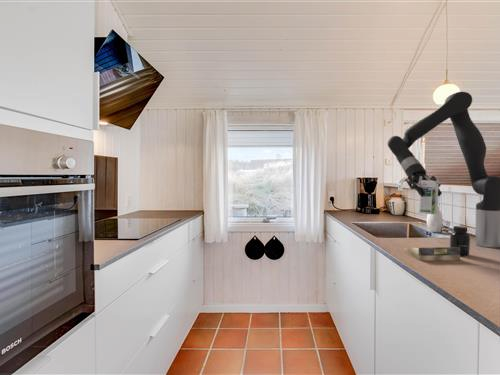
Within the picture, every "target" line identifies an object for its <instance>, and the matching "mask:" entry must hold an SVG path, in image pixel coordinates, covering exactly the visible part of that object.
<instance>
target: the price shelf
mask: <svg viewBox="0 0 500 375" xmlns="http://www.w3.org/2000/svg"><path fill="white" fill-rule="evenodd" d="M403 253H404V254H406V255H408V256H411V257H412V258H414V259H416V260H418V261H422V262H423V261H425V262H426V261H427V262H428V261H431V262H432V261H460V260H461V256H460V248H459V247H450V246H447V247H445V246H443V247H441V246H436V247H435V246H434V247H433V246H431V247H403Z"/></svg>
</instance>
